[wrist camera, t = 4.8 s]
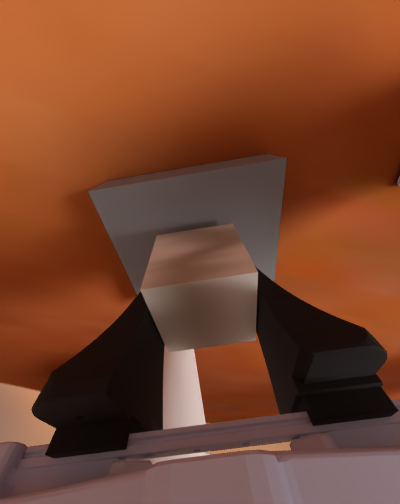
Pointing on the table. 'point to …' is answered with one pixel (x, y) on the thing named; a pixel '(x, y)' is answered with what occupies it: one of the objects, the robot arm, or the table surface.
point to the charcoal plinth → (195, 208)
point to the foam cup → (181, 395)
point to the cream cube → (201, 288)
